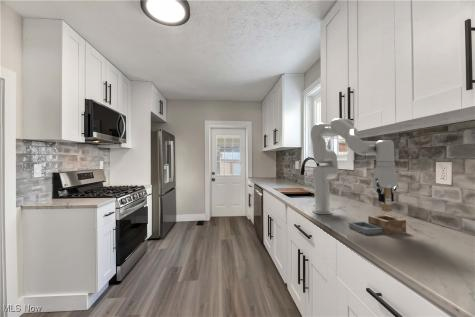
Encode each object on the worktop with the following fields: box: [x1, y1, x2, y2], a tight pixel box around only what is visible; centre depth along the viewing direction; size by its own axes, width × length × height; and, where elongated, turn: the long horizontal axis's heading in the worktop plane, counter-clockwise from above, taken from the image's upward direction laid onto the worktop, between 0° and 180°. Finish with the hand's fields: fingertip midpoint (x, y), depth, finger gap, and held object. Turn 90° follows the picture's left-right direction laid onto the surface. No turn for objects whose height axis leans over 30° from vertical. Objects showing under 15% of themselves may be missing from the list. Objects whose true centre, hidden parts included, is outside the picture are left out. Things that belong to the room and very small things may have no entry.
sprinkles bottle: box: [380, 185, 393, 212], centre depth 110 cm, size 5×5×14 cm
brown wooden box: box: [367, 214, 407, 235], centre depth 110 cm, size 11×11×6 cm
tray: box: [348, 221, 384, 236], centre depth 110 cm, size 12×9×2 cm
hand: (386, 201), depth 110 cm, fingers closed on sprinkles bottle, 4 cm apart
